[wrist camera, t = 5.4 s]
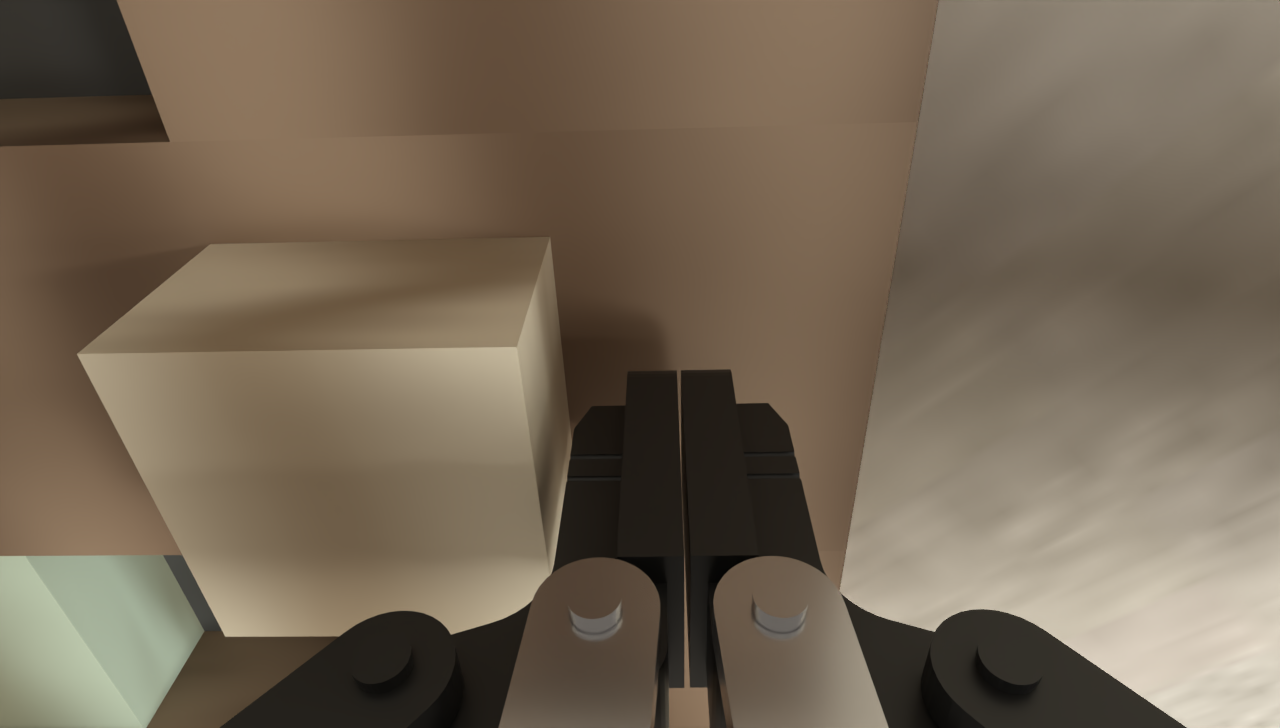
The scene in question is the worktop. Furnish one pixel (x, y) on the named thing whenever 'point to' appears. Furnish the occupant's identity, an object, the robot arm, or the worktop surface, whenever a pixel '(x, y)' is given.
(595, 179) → the trap box
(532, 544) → the maple block
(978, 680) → the robot arm
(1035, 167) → the worktop surface
